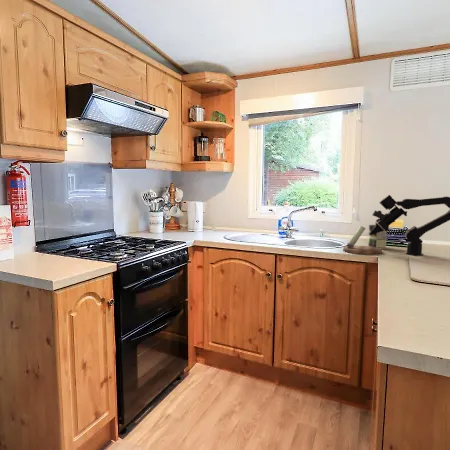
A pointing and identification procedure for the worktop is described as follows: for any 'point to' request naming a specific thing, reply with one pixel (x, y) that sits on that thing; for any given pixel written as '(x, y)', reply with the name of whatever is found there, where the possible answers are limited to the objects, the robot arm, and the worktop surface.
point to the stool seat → (362, 250)
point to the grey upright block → (377, 238)
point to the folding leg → (357, 235)
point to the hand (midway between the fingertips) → (370, 234)
